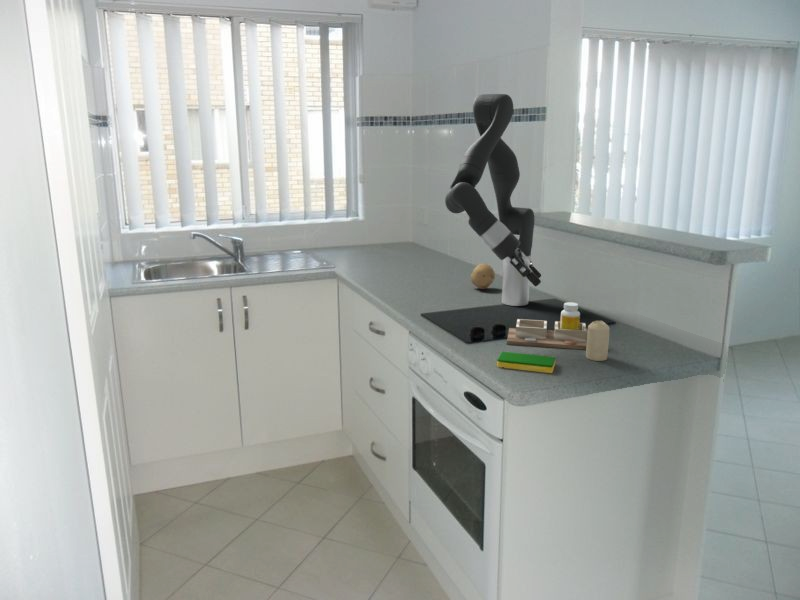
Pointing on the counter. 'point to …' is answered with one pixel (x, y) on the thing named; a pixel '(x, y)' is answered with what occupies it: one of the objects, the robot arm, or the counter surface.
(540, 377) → the counter surface
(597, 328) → the candle
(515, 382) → the counter surface
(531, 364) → the dish sponge
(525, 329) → the socket board
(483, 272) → the potato
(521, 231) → the robot arm
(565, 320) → the supplement bottle
